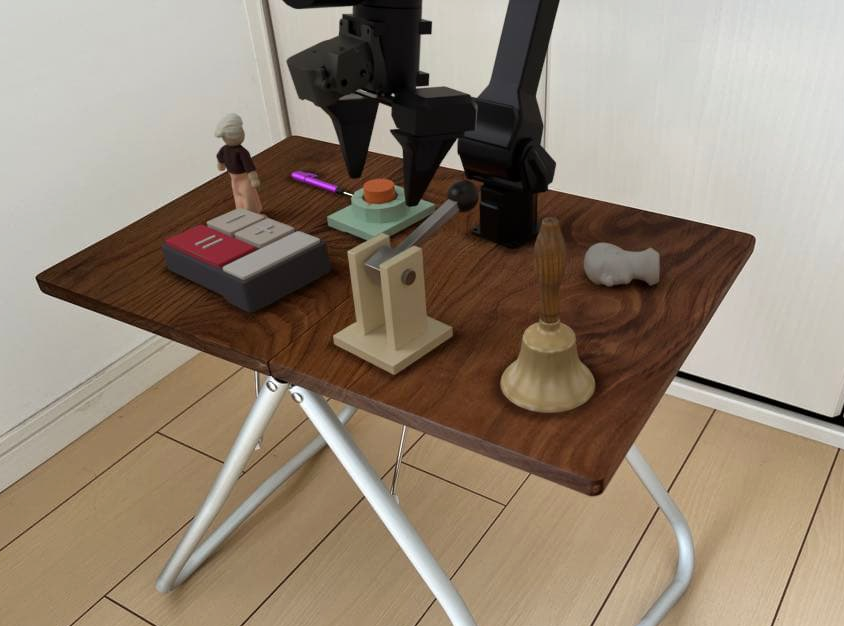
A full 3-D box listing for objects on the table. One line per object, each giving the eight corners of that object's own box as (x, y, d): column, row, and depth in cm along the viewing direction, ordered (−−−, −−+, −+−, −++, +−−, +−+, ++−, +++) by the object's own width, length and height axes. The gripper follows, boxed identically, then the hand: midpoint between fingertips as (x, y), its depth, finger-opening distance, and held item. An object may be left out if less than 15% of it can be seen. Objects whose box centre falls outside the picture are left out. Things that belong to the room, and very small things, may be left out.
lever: (463, 195, 85) (457, 170, 82) (487, 203, 83) (481, 178, 81) (369, 284, 79) (359, 259, 77) (392, 295, 78) (383, 269, 75)
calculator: (240, 202, 99) (326, 234, 91) (248, 237, 102) (333, 271, 93) (157, 238, 93) (241, 276, 85) (168, 274, 96) (251, 314, 87)
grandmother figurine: (284, 219, 104) (265, 114, 96) (262, 232, 101) (241, 125, 94) (237, 206, 107) (215, 103, 99) (214, 218, 105) (190, 114, 97)
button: (380, 189, 103) (378, 175, 102) (402, 197, 101) (400, 183, 100) (358, 200, 101) (356, 186, 100) (380, 208, 99) (378, 194, 98)
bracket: (393, 309, 87) (384, 220, 81) (453, 337, 83) (448, 245, 77) (334, 345, 83) (320, 253, 77) (394, 377, 78) (384, 282, 72)
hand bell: (569, 426, 72) (578, 255, 62) (483, 396, 76) (478, 229, 66) (610, 374, 78) (625, 209, 68) (528, 348, 81) (531, 187, 71)
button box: (387, 196, 108) (385, 173, 106) (435, 213, 104) (434, 189, 102) (328, 225, 102) (324, 202, 100) (376, 245, 98) (373, 221, 96)
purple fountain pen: (289, 180, 113) (381, 212, 105) (289, 171, 113) (381, 202, 105) (304, 177, 115) (395, 208, 107) (305, 168, 115) (396, 199, 107)
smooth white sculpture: (576, 292, 91) (594, 258, 93) (651, 308, 88) (667, 272, 90) (572, 263, 87) (591, 228, 90) (650, 278, 84) (667, 242, 86)
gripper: (245, -11, 73) (253, 174, 81) (367, 23, 61) (363, 237, 69) (357, -10, 79) (355, 162, 87) (489, 20, 67) (472, 217, 75)
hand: (382, 191), depth 79 cm, fingers open, 9 cm apart
